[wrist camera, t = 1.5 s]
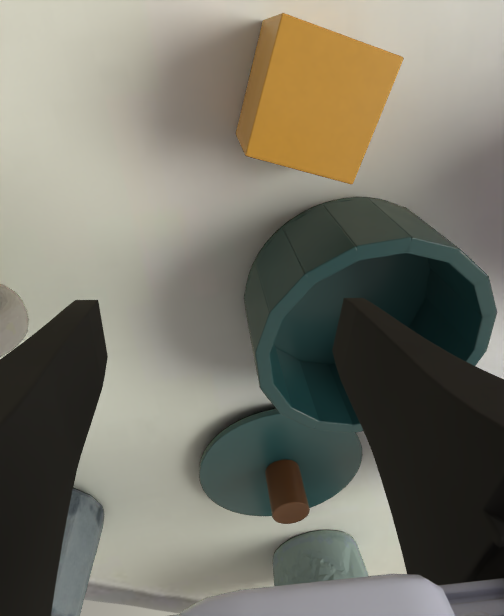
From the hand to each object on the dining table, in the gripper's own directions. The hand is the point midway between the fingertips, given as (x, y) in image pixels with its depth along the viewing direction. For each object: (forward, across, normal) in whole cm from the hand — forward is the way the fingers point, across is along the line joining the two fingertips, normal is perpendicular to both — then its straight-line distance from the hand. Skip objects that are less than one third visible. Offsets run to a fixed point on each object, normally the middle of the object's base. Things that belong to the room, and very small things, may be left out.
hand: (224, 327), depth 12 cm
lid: (+9, -5, +20) cm, 22 cm away
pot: (+10, -8, +5) cm, 13 cm away
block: (+10, -4, -5) cm, 12 cm away
